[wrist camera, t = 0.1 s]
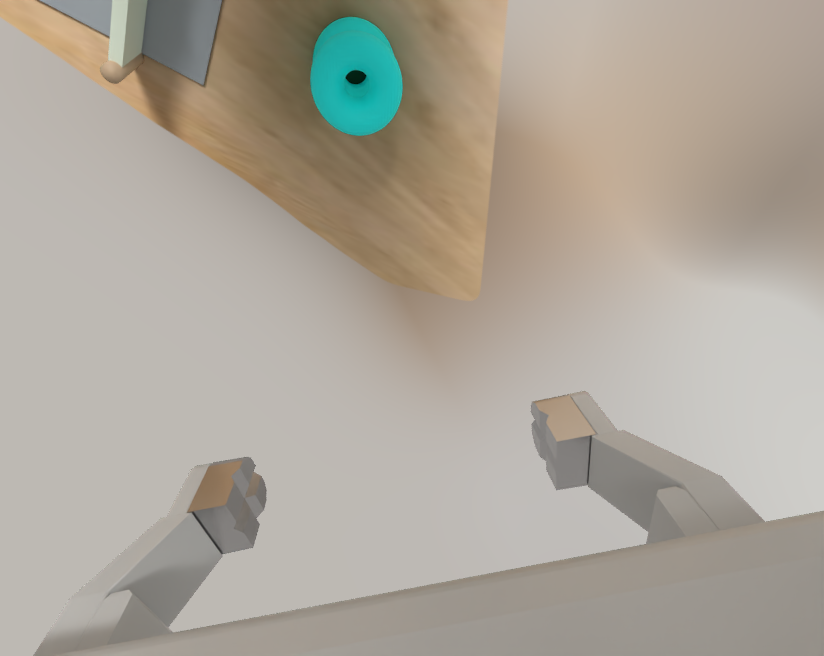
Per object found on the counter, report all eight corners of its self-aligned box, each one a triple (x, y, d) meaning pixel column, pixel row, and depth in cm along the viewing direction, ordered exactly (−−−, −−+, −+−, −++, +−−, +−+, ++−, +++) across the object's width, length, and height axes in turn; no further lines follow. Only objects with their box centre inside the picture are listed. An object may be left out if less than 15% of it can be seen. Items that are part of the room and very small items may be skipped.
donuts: (303, 30, 37) (406, 37, 39) (308, 11, 44) (396, 17, 45) (315, 138, 44) (401, 140, 46) (317, 108, 51) (392, 110, 53)
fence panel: (133, -34, 39) (105, -26, 34) (153, -22, 40) (129, -12, 35) (124, 58, 44) (99, 77, 40) (142, 68, 45) (120, 87, 40)
